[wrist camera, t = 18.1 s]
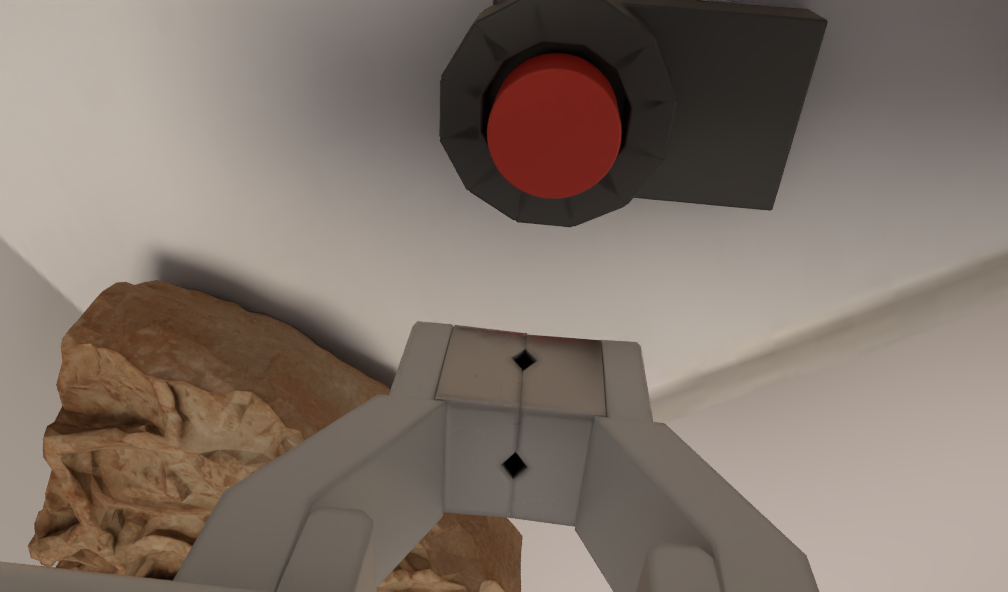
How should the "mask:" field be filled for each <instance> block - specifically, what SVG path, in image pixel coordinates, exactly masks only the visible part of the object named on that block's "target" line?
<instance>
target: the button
mask: <svg viewBox="0 0 1008 592" xmlns="http://www.w3.org/2000/svg"><path fill="white" fill-rule="evenodd" d="M621 135H622V131H621V121H620V116H619V110H618V105H617V100H616V96H615V93H614V90H613V88H612V86H611V84H610V83H609V81H608V80H607V78H606V77H605V75H604V74H603V73H602V72H601V71H600V70H599V69H598V68H597V67H595V66H594V65H593V64H591V63H590V62H588V61H587V60H584V59H582V58H580V57H578V56H574V55H571V54H565V53H548V54H542V55H538V56H535V57H533V58H530V59H528V60H526V61H525V62H523V63H521V64H520V65H519V66H517V67H516V68H515V69H514V70H513V71H512V72H511V73H510V74H509V75H508V76H507V77H506V79H505V80H504V81H503V83H502V85H501V86H500V88H499V91H498V93H497V95H496V98H495V101H494V104H493V107H492V110H491V113H490V116H489V120H488V126H487V141H488V148H489V151H490V155H491V157H492V159H493V162H494V164H495V165H496V167H497V169H498V170H499V172H500V173H501V174H502V175H503V177H504V178H505V179H507V180H508V181H509V182H510V183H511V184H512V185H514V186H515V187H516V188H518V189H520V190H522V191H523V192H526V193H528V194H530V195H534V196H537V197H542V198H553V199H557V198H565V197H570V196H574V195H577V194H580V193H582V192H584V191H586V190H588V189H589V188H591V187H593V186H594V185H595V184H597V183H598V182H599V181H600V180H601V179H602V178H603V177H604V176H605V175H606V174H607V173H608V171H609V170H610V168H611V167H612V165H613V164H614V162H615V160H616V157H617V155H618V152H619V148H620V144H621Z"/></svg>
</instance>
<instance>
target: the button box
mask: <svg viewBox="0 0 1008 592" xmlns="http://www.w3.org/2000/svg"><path fill="white" fill-rule="evenodd" d="M826 26H827V20H826V19H824V18H822V17H821V16H819V15H817V14H815V13H814V12H812V11H810V10H808V9H796V8H784V7H772V6H760V5H747V4H735V3H723V2H711V1H699V0H493V5H492V6H490V7H488V8H487V9H485V10H483V12H481V13H480V14H479V16H478V17H477V19H476V20H475V22H474V23H473V25H472V26H471V28H470V30H469V31H468V33H467V34H466V36H465V38H464V39H463V41H462V43H461V44H460V46H459V48H458V49H457V51H456V53H455V54H454V56H453V57H452V59H451V61H450V62H449V64H448V66H447V67H446V69H445V71H444V72H443V74H442V76H441V81H440V130H439V136H440V142H441V144H442V145H443V147H444V149H445V151H446V153H447V155H448V156H449V158H450V160H451V162H452V164H453V166H454V167H455V169H456V171H457V173H458V175H459V177H460V178H461V180H462V182H463V184H464V186H465V188H466V189H467V190H469V191H470V192H471V193H472V194H474V195H476V196H477V197H479V198H480V199H482V200H483V201H485V202H486V203H488V204H489V205H491V206H493V207H494V208H496V209H497V210H499V211H500V212H502V213H503V214H505V215H506V216H508V217H510V218H511V219H513V220H516V222H522V223H532V224H542V225H553V226H563V227H572V226H577V225H579V224H582V223H584V222H587V221H589V220H592V219H594V218H597V217H599V216H602V215H604V214H607V213H609V212H612V211H614V210H617V209H619V208H622V207H624V206H625V205H627V204H628V203H629V202H630V201H631V200H632V199H633V198H643V199H653V200H664V201H675V202H685V203H696V204H706V205H717V206H728V207H738V208H749V209H760V210H772V209H773V205H774V202H775V199H776V195H777V192H778V189H779V185H780V182H781V178H782V175H783V172H784V168H785V165H786V161H787V158H788V155H789V151H790V148H791V145H792V141H793V138H794V134H795V131H796V128H797V124H798V121H799V117H800V114H801V111H802V107H803V104H804V101H805V97H806V94H807V90H808V87H809V84H810V80H811V77H812V73H813V70H814V67H815V63H816V60H817V56H818V53H819V50H820V46H821V43H822V40H823V36H824V33H825V29H826ZM548 53H565V54H571V55H574V56H578V57H580V58H582V59H584V60H587V61H588V62H590V63H591V64H593V65H594V66H595V67H597V68H598V69H599V70H600V71H601V72H602V73H603V74H604V75H605V77H606V78H607V80H608V81H609V83H610V84H611V86H612V88H613V90H614V93H615V96H616V100H617V105H618V110H619V116H620V121H621V131H622V135H621V144H620V148H619V152H618V155H617V157H616V160H615V162H614V164H613V165H612V167H611V168H610V170H609V171H608V173H607V174H606V175H605V176H604V177H603V178H602V179H601V180H600V181H599V182H598V183H597V184H595V185H594V186H593V187H591V188H589V189H588V190H586V191H584V192H582V193H580V194H577V195H574V196H570V197H565V198H557V199H553V198H542V197H537V196H534V195H530V194H528V193H526V192H523V191H522V190H520V189H518V188H516V187H515V186H514V185H512V184H511V183H510V182H509V181H508V180H507V179H505V178H504V177H503V175H502V174H501V173H500V172H499V170H498V169H497V167H496V165H495V164H494V162H493V159H492V157H491V155H490V151H489V148H488V141H487V126H488V120H489V116H490V113H491V110H492V107H493V104H494V101H495V98H496V95H497V93H498V91H499V88H500V86H501V85H502V83H503V81H504V80H505V79H506V77H507V76H508V75H509V74H510V73H511V72H512V71H513V70H514V69H515V68H516V67H517V66H519V65H520V64H521V63H523V62H525V61H526V60H528V59H530V58H533V57H535V56H538V55H542V54H548Z"/></svg>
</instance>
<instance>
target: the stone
mask: <svg viewBox="0 0 1008 592" xmlns="http://www.w3.org/2000/svg"><path fill="white" fill-rule="evenodd" d="M61 352H62V365H61V369H60V373H59V377H58V381H57V384H56V385H57V389H58V392H59V395H60V399H61V402H62V408H61V410H60V412H59V414H58V416H57V418H56V420H55V422H54V423H52V424H50V425H49V426H47V428H46V431H45V434H44V438H43V457H44V459H45V460H46V462H47V463H48V465H49V466H50V467H51V469H52V471H51V475H50V479H49V483H48V486H47V489H46V493H45V502H44V506H43V509H42V510H41V511H39V513H38V515H37V518H36V521H35V524H34V525H35V535H34V537H33V539H32V540H31V541H30V543H29V545H28V548H29V552H30V556H31V558H33V559H35V560H38V561H39V562H40V563H41V564H42V565H44V566H46V567H52V566H53V565H54V563H55V562H56V561H59V563H58V564H57V566H56V568H62V569H71V570H80V571H89V572H98V573H107V574H116V575H125V576H134V577H143V578H152V579H161V580H170V581H173V580H174V578H175V576H176V574H177V572H178V571H179V569H180V567H181V565H182V564H183V562H184V560H185V558H186V557H187V555H188V553H189V551H190V550H191V548H192V546H193V544H194V543H195V541H196V539H197V537H198V536H199V534H200V532H201V530H202V528H203V527H204V525H205V523H206V521H207V520H208V518H209V516H210V514H211V513H212V511H213V509H214V507H215V506H216V504H217V502H218V500H219V499H220V497H221V495H222V493H223V492H224V491H225V490H227V489H229V488H230V487H232V486H233V485H235V484H236V483H238V482H240V481H241V480H243V479H244V478H246V477H248V476H249V475H251V474H252V473H254V472H255V471H257V470H259V469H260V468H262V467H263V466H265V465H267V464H268V463H270V462H271V461H273V460H274V459H276V458H278V457H279V456H281V455H282V454H284V453H286V452H287V451H289V450H290V449H292V448H293V447H295V446H297V445H298V444H300V443H301V442H303V441H305V440H306V439H308V438H309V437H311V436H312V435H314V434H316V433H317V432H319V431H320V430H322V429H323V428H325V427H327V426H328V425H330V424H331V423H333V422H335V421H336V420H338V419H339V418H341V417H342V416H344V415H346V414H347V413H349V412H350V411H352V410H354V409H355V408H357V407H358V406H360V405H361V404H363V403H365V402H366V401H368V400H369V399H371V398H373V397H374V396H376V395H378V394H381V395H389V393H390V389H389V388H388V387H387V386H386V385H385V384H383V383H380V382H378V381H376V380H374V379H372V378H370V377H368V376H367V375H365V374H364V373H362V372H361V371H359V370H357V369H355V368H353V367H352V366H350V365H348V364H346V363H344V362H342V361H340V360H339V359H338V358H337V357H335V356H334V355H333V354H331V353H330V352H328V351H326V350H324V349H322V348H320V347H318V346H317V345H316V344H315V343H314V342H313V341H311V340H310V339H309V338H308V337H307V336H305V335H304V334H302V333H301V332H299V331H298V330H296V329H295V328H293V327H292V326H290V325H287V324H285V323H283V322H281V321H279V320H277V319H274V318H272V317H270V316H268V315H266V314H262V313H254V312H247V311H246V310H244V309H243V308H242V307H240V306H239V305H238V304H236V303H234V302H230V301H225V300H221V299H218V298H216V297H213V296H211V295H208V294H206V293H203V292H200V291H197V290H194V289H187V290H186V289H184V288H182V287H180V286H177V285H174V284H171V283H168V282H165V281H149V282H144V283H140V284H137V285H132V284H130V283H127V282H119V283H115V284H114V285H112V286H110V287H109V288H107V289H106V290H104V291H103V292H102V293H101V294H100V295H99V296H98V297H97V298H96V299H95V300H94V302H93V303H92V304H91V305H90V306H89V308H88V309H87V310H86V311H85V312H84V314H83V315H82V316H81V317H80V318H79V319H78V321H77V322H76V323H75V324H74V325H73V326H72V327H71V328H70V329H69V331H68V332H67V333H66V334H65V336H64V337H63V339H62V344H61ZM521 547H522V535H521V534H520V532H518V530H517V529H516V528H515V526H514V525H513V524H512V523H511V522H510V521H509V520H508V519H507V517H495V516H482V515H470V514H457V513H444V512H443V517H442V518H441V519H440V520H439V521H438V522H437V523H436V524H435V525H434V526H433V528H432V529H431V530H430V531H429V532H428V533H427V534H426V535H425V536H424V537H423V538H422V539H421V540H420V542H419V543H418V544H417V545H416V546H415V547H414V548H413V549H412V550H411V551H410V552H409V553H408V554H407V556H406V557H405V558H404V559H403V560H402V561H401V562H400V563H399V564H398V565H397V566H396V567H395V568H394V570H393V571H392V572H391V573H390V574H389V575H388V576H387V577H386V578H385V579H384V580H383V581H382V582H381V584H380V585H379V586H378V587H377V592H521V575H520V574H521V572H520V571H521Z"/></svg>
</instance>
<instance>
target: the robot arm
mask: <svg viewBox="0 0 1008 592" xmlns="http://www.w3.org/2000/svg"><path fill="white" fill-rule="evenodd" d="M443 512H444V513H457V514H470V515H482V516H495V517H508V518H515V519H523V520H530V521H538V522H546V523H553V524H560V525H567V526H575V531H576V532H577V534H578V535H579V537H580V539H581V540H582V542H583V543H584V545H585V547H586V548H587V550H588V552H589V553H590V555H591V556H592V558H593V559H594V561H595V563H596V564H597V566H598V568H599V569H600V571H601V572H602V574H603V576H604V577H605V579H606V581H607V582H608V584H609V585H610V587H611V588H612V590H613V592H819V590H818V587H817V584H816V581H815V578H814V575H813V573H812V570H811V567H810V564H809V561H808V559H807V556H806V555H805V554H804V553H803V552H802V551H801V550H800V549H799V548H798V547H797V546H796V545H795V544H793V543H792V542H791V541H790V540H789V539H788V538H787V537H786V536H785V535H784V534H783V533H782V532H781V531H780V530H778V529H777V528H776V527H775V526H774V525H773V524H772V523H771V522H770V521H769V520H768V519H767V518H766V517H765V516H764V515H762V514H761V513H760V512H759V511H758V510H757V509H756V508H755V507H753V505H752V504H750V502H748V501H747V500H746V499H745V498H744V497H743V496H742V495H741V494H740V493H739V492H738V491H737V490H736V489H734V488H733V487H732V486H731V485H730V484H729V483H728V482H727V481H726V480H725V479H724V478H723V477H722V476H721V475H720V474H718V473H717V472H716V471H715V470H714V469H713V468H712V467H711V466H710V465H709V464H708V463H707V462H706V461H704V460H703V459H702V458H701V457H700V456H699V455H698V454H697V453H696V452H695V451H694V450H692V449H691V447H689V446H688V445H687V444H686V443H685V442H684V441H683V440H682V439H681V438H680V437H679V436H678V435H677V434H676V433H674V432H673V431H672V430H671V429H670V428H669V427H668V426H667V425H666V424H664V423H657V422H653V417H652V411H651V405H650V399H649V393H648V387H647V381H646V375H645V369H644V363H643V357H642V351H641V346H640V345H639V344H638V343H637V342H627V341H611V340H589V339H576V338H564V337H551V336H539V335H527V333H518V332H510V331H501V330H493V329H485V328H476V327H468V326H459V325H455V326H453V325H452V324H442V323H431V322H420V321H417V322H416V323H415V324H414V325H413V327H412V330H411V332H410V335H409V338H408V341H407V344H406V347H405V350H404V353H403V355H402V358H401V361H400V364H399V367H398V370H397V373H396V376H395V378H394V381H393V384H392V387H391V390H390V393H389V395H381V394H378V395H376V396H374V397H373V398H371V399H369V400H368V401H366V402H365V403H363V404H361V405H360V406H358V407H357V408H355V409H354V410H352V411H350V412H349V413H347V414H346V415H344V416H342V417H341V418H339V419H338V420H336V421H335V422H333V423H331V424H330V425H328V426H327V427H325V428H323V429H322V430H320V431H319V432H317V433H316V434H314V435H312V436H311V437H309V438H308V439H306V440H305V441H303V442H301V443H300V444H298V445H297V446H295V447H293V448H292V449H290V450H289V451H287V452H286V453H284V454H282V455H281V456H279V457H278V458H276V459H274V460H273V461H271V462H270V463H268V464H267V465H265V466H263V467H262V468H260V469H259V470H257V471H255V472H254V473H252V474H251V475H249V476H248V477H246V478H244V479H243V480H241V481H240V482H238V483H236V484H235V485H233V486H232V487H230V488H229V489H227V490H225V491H224V492H223V493H222V495H221V497H220V499H219V500H218V502H217V504H216V506H215V507H214V509H213V511H212V513H211V514H210V516H209V518H208V520H207V521H206V523H205V525H204V527H203V528H202V530H201V532H200V534H199V536H198V537H197V539H196V541H195V543H194V544H193V546H192V548H191V550H190V551H189V553H188V555H187V557H186V558H185V560H184V562H183V564H182V565H181V567H180V569H179V571H178V572H177V574H176V576H175V578H174V580H173V581H170V580H161V579H152V578H143V577H134V576H125V575H116V574H107V573H98V572H89V571H80V570H71V569H62V568H53V567H44V566H35V565H26V564H17V563H8V562H0V592H377V587H378V586H379V585H380V584H381V582H382V581H383V580H384V579H385V578H386V577H387V576H388V575H389V574H390V573H391V572H392V571H393V570H394V568H395V567H396V566H397V565H398V564H399V563H400V562H401V561H402V560H403V559H404V558H405V557H406V556H407V554H408V553H409V552H410V551H411V550H412V549H413V548H414V547H415V546H416V545H417V544H418V543H419V542H420V540H421V539H422V538H423V537H424V536H425V535H426V534H427V533H428V532H429V531H430V530H431V529H432V528H433V526H434V525H435V524H436V523H437V522H438V521H439V520H440V519H441V518H442V517H443ZM509 514H510V516H509Z"/></svg>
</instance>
